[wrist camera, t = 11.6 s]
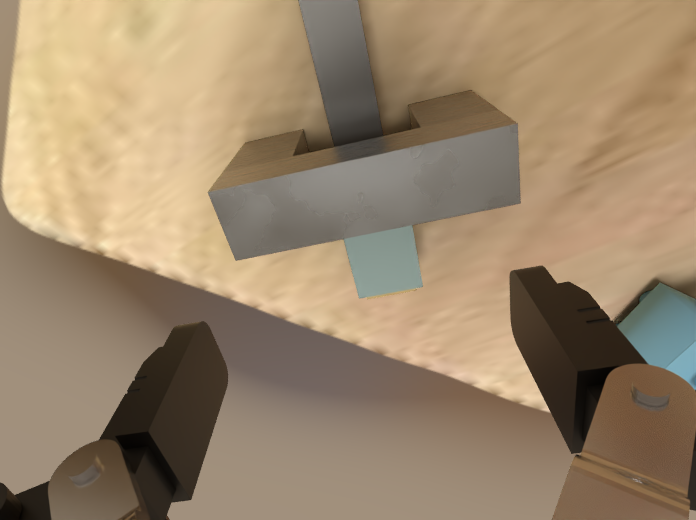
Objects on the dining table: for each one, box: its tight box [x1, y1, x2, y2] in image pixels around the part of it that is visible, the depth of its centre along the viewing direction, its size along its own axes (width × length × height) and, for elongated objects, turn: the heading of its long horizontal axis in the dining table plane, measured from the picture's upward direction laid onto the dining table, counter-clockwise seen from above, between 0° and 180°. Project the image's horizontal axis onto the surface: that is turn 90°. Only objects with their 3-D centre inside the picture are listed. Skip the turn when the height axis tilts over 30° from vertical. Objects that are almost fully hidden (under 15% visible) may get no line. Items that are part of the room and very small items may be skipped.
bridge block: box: [208, 90, 521, 261], centre depth 26 cm, size 15×4×9 cm, turn 103°
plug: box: [298, 0, 423, 299], centre depth 28 cm, size 21×4×4 cm, turn 13°
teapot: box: [615, 283, 696, 390], centre depth 33 cm, size 12×6×8 cm, turn 155°
